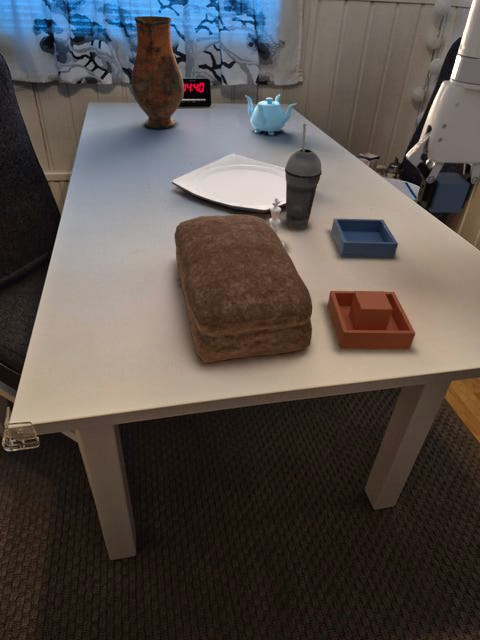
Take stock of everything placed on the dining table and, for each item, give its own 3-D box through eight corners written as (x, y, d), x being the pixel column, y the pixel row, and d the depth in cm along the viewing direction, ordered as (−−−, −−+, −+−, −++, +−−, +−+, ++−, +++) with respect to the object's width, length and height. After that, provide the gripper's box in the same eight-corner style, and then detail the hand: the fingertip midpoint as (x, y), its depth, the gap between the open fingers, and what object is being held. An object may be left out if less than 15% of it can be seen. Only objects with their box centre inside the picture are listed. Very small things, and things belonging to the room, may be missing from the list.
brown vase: (130, 130, 143) (117, 18, 124) (143, 113, 160) (134, 12, 141) (181, 133, 143) (177, 21, 124) (189, 115, 160) (186, 15, 141)
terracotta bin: (389, 307, 72) (394, 291, 70) (409, 349, 64) (415, 333, 62) (327, 306, 72) (330, 290, 70) (339, 348, 64) (343, 332, 62)
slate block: (447, 200, 71) (457, 172, 68) (460, 212, 68) (470, 183, 65) (420, 200, 71) (428, 172, 68) (431, 212, 67) (440, 183, 64)
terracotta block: (377, 314, 69) (384, 291, 67) (385, 333, 66) (392, 309, 63) (348, 314, 69) (354, 290, 66) (355, 333, 66) (361, 308, 63)
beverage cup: (295, 236, 90) (307, 133, 78) (272, 222, 95) (281, 123, 82) (320, 227, 94) (337, 127, 81) (297, 214, 98) (309, 118, 86)
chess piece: (254, 247, 86) (257, 197, 80) (271, 239, 89) (275, 190, 83) (273, 256, 83) (278, 206, 77) (290, 248, 86) (296, 199, 80)
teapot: (243, 126, 151) (244, 94, 145) (279, 124, 155) (281, 92, 149) (256, 137, 142) (257, 103, 136) (294, 135, 145) (297, 101, 139)
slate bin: (379, 233, 93) (383, 219, 91) (394, 258, 85) (398, 243, 83) (331, 232, 92) (333, 218, 90) (341, 257, 84) (344, 242, 82)
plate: (324, 185, 112) (325, 175, 111) (266, 226, 93) (267, 214, 92) (231, 160, 124) (231, 151, 122) (162, 192, 105) (162, 181, 103)
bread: (262, 251, 85) (266, 194, 78) (315, 355, 62) (328, 288, 55) (172, 258, 81) (168, 199, 74) (194, 370, 59) (192, 301, 52)
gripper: (530, 69, 61) (481, 196, 72) (409, 66, 60) (379, 194, 72) (563, 80, 55) (504, 216, 67) (430, 76, 54) (394, 215, 66)
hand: (440, 204), depth 69 cm, fingers closed on slate block, 4 cm apart
